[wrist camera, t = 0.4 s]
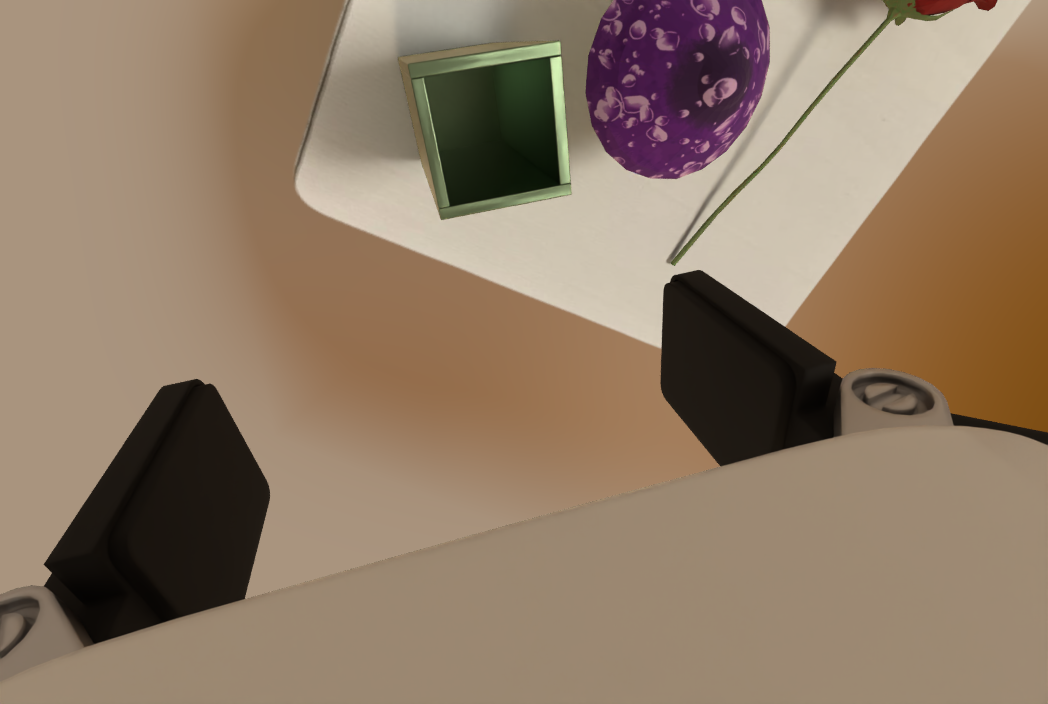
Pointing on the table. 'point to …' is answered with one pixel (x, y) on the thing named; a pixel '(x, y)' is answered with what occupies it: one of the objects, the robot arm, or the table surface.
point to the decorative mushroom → (675, 80)
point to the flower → (902, 4)
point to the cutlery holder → (489, 124)
